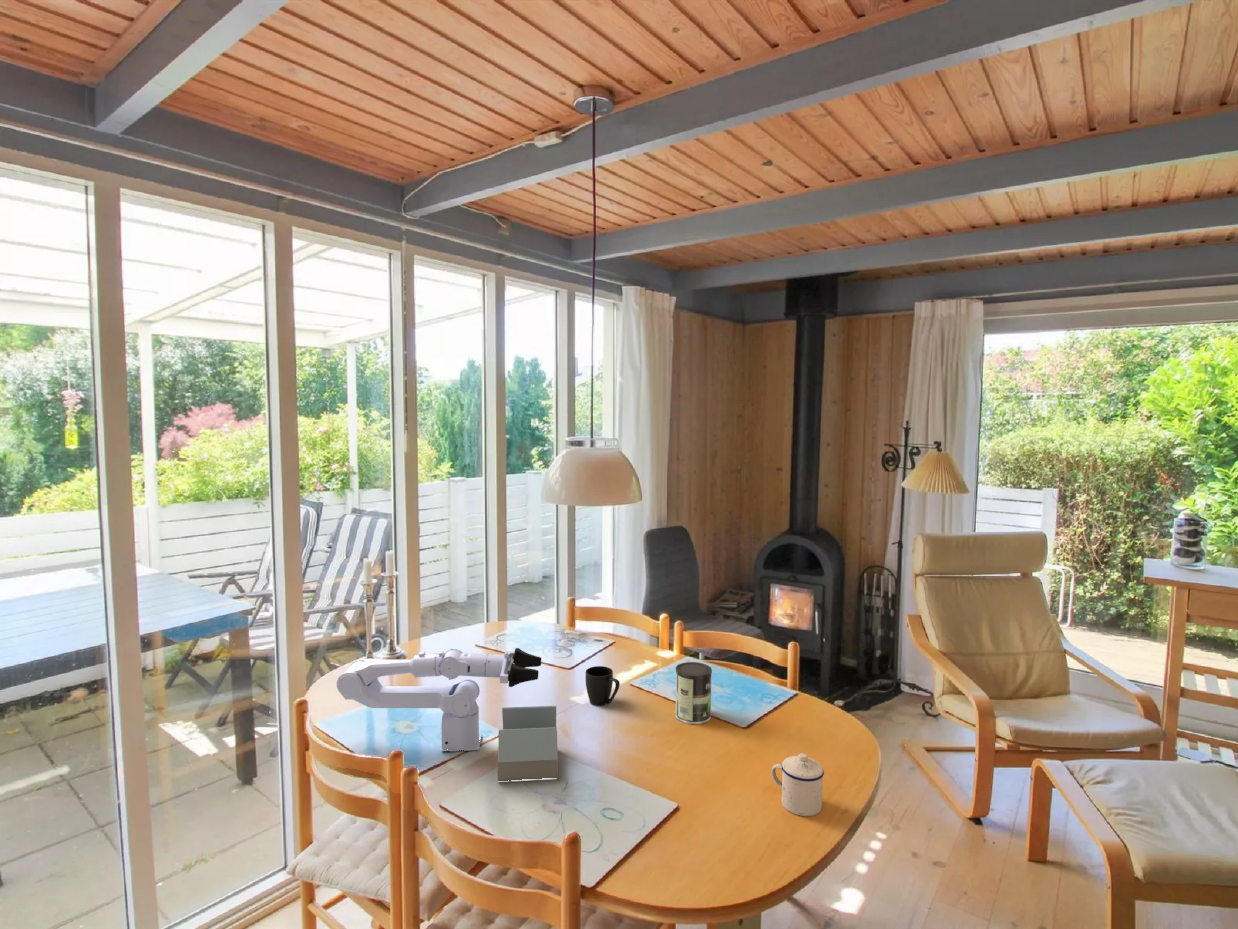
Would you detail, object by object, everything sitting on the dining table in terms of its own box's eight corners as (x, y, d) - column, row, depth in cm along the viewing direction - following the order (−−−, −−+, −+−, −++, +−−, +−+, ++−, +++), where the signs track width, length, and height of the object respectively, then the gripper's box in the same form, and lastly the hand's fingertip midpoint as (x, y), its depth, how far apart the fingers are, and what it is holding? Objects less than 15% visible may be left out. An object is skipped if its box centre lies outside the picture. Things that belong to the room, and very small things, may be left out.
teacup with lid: (829, 804, 146) (831, 754, 145) (811, 823, 139) (813, 771, 138) (780, 783, 154) (781, 736, 153) (761, 800, 147) (762, 751, 146)
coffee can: (712, 709, 192) (712, 663, 191) (709, 726, 182) (710, 677, 181) (677, 706, 194) (677, 660, 193) (672, 722, 184) (673, 674, 183)
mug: (607, 715, 188) (607, 683, 187) (579, 701, 196) (579, 671, 196) (627, 706, 194) (627, 675, 193) (599, 693, 202) (599, 663, 201)
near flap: (498, 761, 153) (498, 762, 152) (498, 729, 154) (498, 730, 154) (556, 758, 154) (556, 759, 154) (556, 727, 156) (556, 727, 155)
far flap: (502, 708, 165) (502, 707, 165) (503, 730, 168) (503, 728, 168) (556, 706, 166) (556, 705, 167) (556, 727, 169) (556, 726, 169)
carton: (497, 782, 154) (497, 762, 153) (502, 751, 167) (502, 733, 167) (557, 779, 155) (557, 759, 155) (557, 749, 169) (557, 730, 168)
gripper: (482, 663, 162) (537, 666, 162) (492, 639, 176) (542, 642, 177) (481, 690, 163) (536, 692, 163) (491, 664, 177) (541, 666, 178)
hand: (539, 668), depth 170 cm, fingers open, 7 cm apart
